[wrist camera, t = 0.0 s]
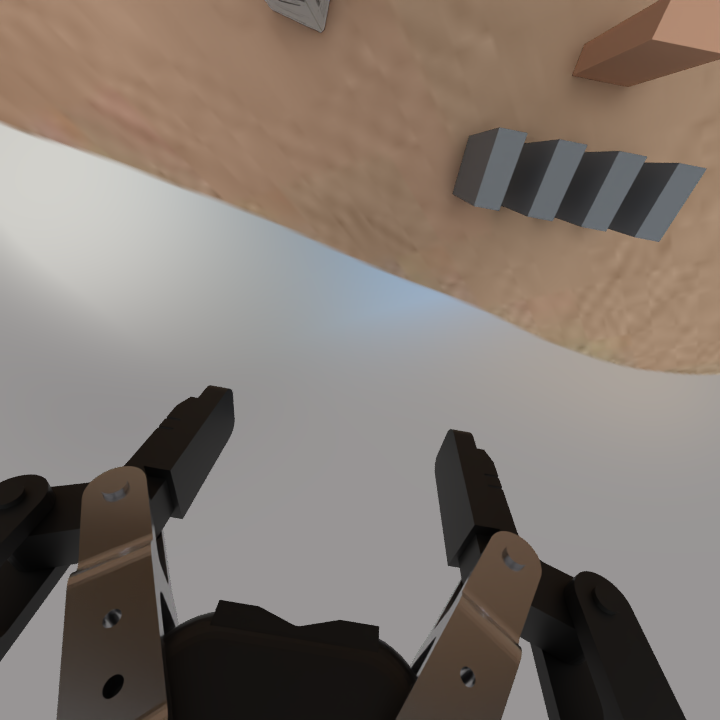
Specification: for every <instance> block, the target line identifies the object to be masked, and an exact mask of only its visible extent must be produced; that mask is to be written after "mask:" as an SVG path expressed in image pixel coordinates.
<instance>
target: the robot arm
mask: <svg viewBox="0 0 720 720" xmlns="http://www.w3.org/2000/svg"><path fill="white" fill-rule="evenodd" d="M234 419H235V418H234V405H233V392H232V390H231V389H227V388H222V387H217V386H211V385H210V386H208V387H207V388H206V389H205V390H204V391H203V393H202V394H201V395H200V396H199V397H198V398H195V397H190V398H188V399H187V400H185V401H183V402H181V403H180V404H178V405H177V406H176V407H175V408H174V409H173V410H172V412H171V413H170V414H169V415H168V416H167V419H164V421H163V422H162V423H161V424H160V425H159V428H157V429H156V430H155V431H154V432H153V434H152V435H151V436H150V437H149V438H148V439H147V440H146V441H145V443H144V444H143V445H142V446H141V447H140V448H139V450H138V451H137V452H136V453H135V454H134V455H133V456H132V458H131V459H130V460H129V461H128V462H127V463H126V464H125V465H124V466H123V467H118V468H114V469H111V470H108V471H106V472H104V473H102V474H101V475H99V476H98V477H96V478H95V479H93V480H92V481H91V482H89V483H83V484H73V485H65V486H55V487H50V485H49V483H48V482H47V480H46V479H45V478H43V477H42V476H38V475H22V476H17V477H13V478H10V479H7V480H5V481H2V482H1V483H0V661H1V660H2V658H3V657H4V656H5V654H6V653H7V651H8V650H9V649H10V647H11V646H12V644H13V643H14V642H15V640H16V639H17V638H18V636H19V635H20V634H21V632H22V631H23V629H24V628H25V627H26V625H27V624H28V622H29V621H30V620H31V618H32V617H33V616H34V614H35V612H36V611H37V610H38V609H39V607H40V606H41V605H42V603H43V602H44V600H45V599H46V598H47V596H48V595H49V593H50V592H51V591H52V589H53V588H54V587H55V585H56V584H57V582H58V581H59V580H60V578H61V577H62V576H63V574H64V573H65V571H66V570H67V568H68V567H69V566H70V565H71V564H77V563H78V568H77V571H76V572H73V573H72V574H71V575H70V577H69V579H68V583H67V590H66V603H65V616H64V631H63V642H62V657H61V668H60V669H61V670H60V682H59V695H58V708H57V720H501V718H502V715H503V712H504V709H505V706H506V703H507V700H508V697H509V694H510V691H511V688H512V685H513V682H514V679H515V676H516V673H517V670H518V667H519V663H520V660H521V654H522V650H521V647H520V646H519V645H518V643H519V638H520V637H521V638H523V639H525V640H526V641H528V642H530V644H531V648H532V652H533V656H534V660H535V664H536V668H537V672H538V676H539V680H540V684H541V689H542V693H543V697H544V701H545V705H546V709H547V713H548V717H549V720H686V718H685V716H684V714H683V712H682V710H681V708H680V706H679V704H678V702H677V700H676V698H675V696H674V694H673V692H672V690H671V688H670V686H669V684H668V681H667V679H666V677H665V676H664V673H663V671H662V669H661V667H660V665H659V663H658V661H657V659H656V657H655V655H654V653H653V651H652V649H651V647H650V645H649V643H648V641H647V639H646V637H645V635H644V633H643V631H642V629H641V626H640V624H639V623H638V620H637V618H636V617H635V615H634V612H633V610H632V608H631V606H630V604H629V603H628V601H627V600H626V598H625V597H624V595H623V594H622V593H621V592H620V591H619V590H618V589H617V588H616V587H615V586H614V585H613V584H612V583H611V582H609V581H608V580H607V579H605V578H604V577H602V576H600V575H598V574H596V573H593V572H588V571H584V572H580V573H579V574H578V575H576V576H575V577H572V576H569V575H568V574H565V573H564V572H562V571H560V570H558V569H556V568H554V567H552V566H549V565H547V564H546V563H544V562H542V561H541V560H539V558H538V556H537V554H536V553H535V551H534V550H533V548H532V547H531V546H530V545H529V544H528V543H527V542H526V541H525V540H523V539H522V538H521V537H519V535H518V533H517V530H516V528H515V525H514V522H513V518H512V515H511V513H510V510H509V507H508V504H507V501H506V498H505V495H504V492H503V490H502V489H501V488H502V486H501V483H500V480H499V478H498V474H497V471H496V468H495V466H494V462H493V461H492V460H491V458H490V457H489V456H488V454H487V453H486V452H485V451H484V450H482V449H477V448H476V445H475V441H474V438H473V435H472V434H471V433H469V432H463V431H458V430H452V429H450V430H449V431H448V433H447V435H446V437H445V439H444V441H443V444H442V446H441V448H440V451H439V453H438V455H437V458H436V462H435V477H436V484H437V491H438V498H439V505H440V513H441V520H442V526H443V534H444V540H445V548H446V555H447V562H448V566H453V567H459V568H460V572H461V580H460V581H459V583H458V585H457V586H456V588H455V590H454V592H453V594H452V595H451V597H450V599H449V601H448V602H447V604H446V606H445V607H444V609H443V611H442V613H441V615H440V616H439V618H438V620H437V622H436V623H435V625H434V627H433V629H432V630H431V632H430V634H429V635H428V637H427V639H426V640H425V642H424V643H423V645H422V646H421V648H420V650H419V651H418V653H417V655H416V656H415V658H414V660H413V661H412V663H411V665H410V666H409V665H408V664H407V662H406V661H405V660H404V659H403V657H402V656H401V655H400V654H398V652H396V651H395V650H394V649H393V648H392V647H391V646H389V645H388V644H387V643H385V642H384V641H382V640H380V639H379V626H374V625H368V624H361V623H356V622H349V621H343V620H337V621H330V622H325V623H318V624H312V625H305V626H295V625H292V624H291V623H288V622H287V621H285V620H283V619H281V618H280V617H278V616H276V615H274V614H272V613H270V612H268V611H267V610H265V609H263V608H261V607H259V606H253V605H247V604H241V603H235V602H229V601H223V600H219V603H218V605H217V608H216V611H215V612H211V613H207V614H204V615H200V616H197V617H195V618H192V619H190V620H188V621H186V622H184V623H183V624H180V625H179V626H178V619H177V613H176V608H175V604H174V599H173V594H172V590H171V583H170V576H169V568H168V561H167V555H166V547H165V539H164V533H163V527H164V526H165V524H166V522H167V521H168V519H169V518H170V517H174V518H180V519H183V517H184V516H185V514H186V512H187V510H188V509H189V507H190V505H191V504H192V502H193V500H194V498H195V497H196V495H197V493H198V491H199V489H200V488H201V486H202V484H203V483H204V481H205V479H206V478H207V476H208V474H209V472H210V470H211V469H212V467H213V465H214V464H215V462H216V460H217V458H218V457H219V455H220V453H221V452H222V450H223V448H224V446H225V445H226V443H227V441H228V439H229V438H230V436H231V434H232V431H233V427H234Z"/></svg>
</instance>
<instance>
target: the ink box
mask: <svg viewBox="0 0 720 720" xmlns="http://www.w3.org/2000/svg"><path fill="white" fill-rule="evenodd" d="M265 1H266V3H267V4H268V5H269V7H270V8H271V9H272V10H273V11H276V12H278V13H280V14H282V15H284V16H286V17H288V18H291V19H293V20H295V21H297V22H299V23H301V24H303V25H305V26H308V27H310V28H312V29H315V30H317V31H318V32H320V33H321V32H322V31H323V30H324V28H325V23H326V18H327V13H328V7H329V2H330V0H265Z"/></svg>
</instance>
